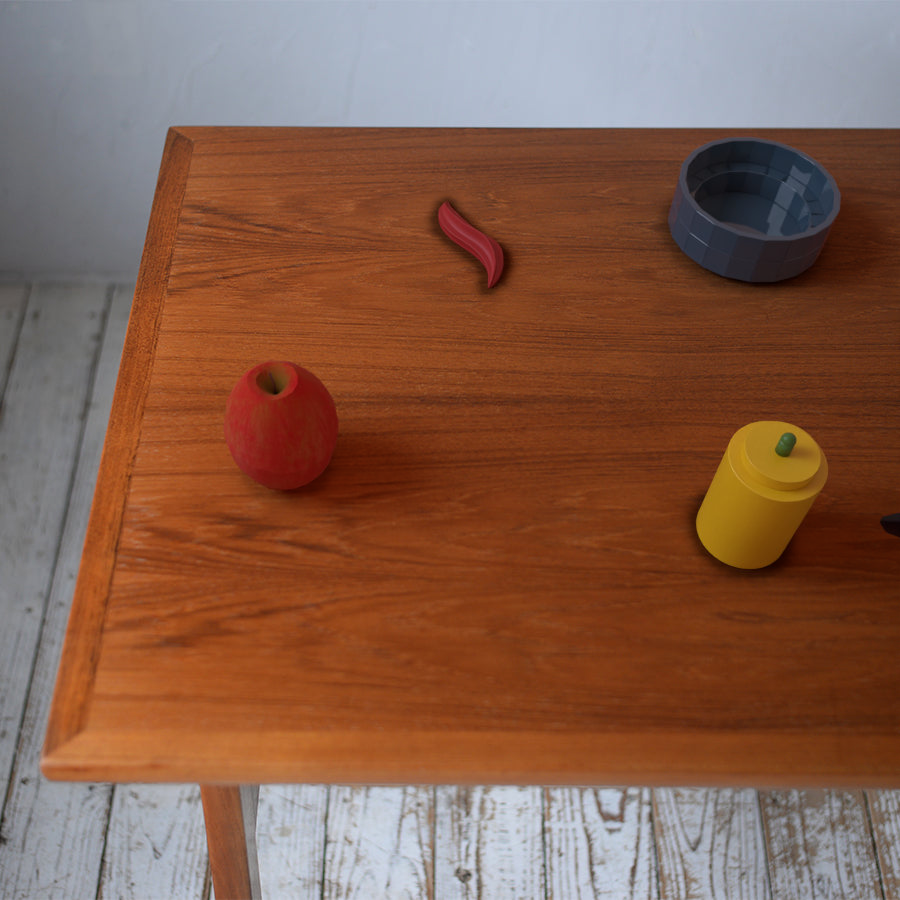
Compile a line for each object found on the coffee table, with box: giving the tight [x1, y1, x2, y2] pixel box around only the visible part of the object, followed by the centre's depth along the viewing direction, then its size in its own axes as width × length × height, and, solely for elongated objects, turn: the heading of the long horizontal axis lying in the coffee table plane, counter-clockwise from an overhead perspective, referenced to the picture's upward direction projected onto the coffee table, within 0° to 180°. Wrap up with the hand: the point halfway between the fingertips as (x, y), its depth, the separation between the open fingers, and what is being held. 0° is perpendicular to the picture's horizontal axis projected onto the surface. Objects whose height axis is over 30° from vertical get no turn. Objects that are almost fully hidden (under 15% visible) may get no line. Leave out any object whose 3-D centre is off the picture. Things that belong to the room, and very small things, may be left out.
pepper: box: [695, 420, 829, 570], centre depth 67 cm, size 7×7×12 cm
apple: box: [222, 359, 340, 491], centre depth 69 cm, size 8×8×11 cm
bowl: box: [667, 136, 842, 283], centre depth 88 cm, size 14×14×6 cm
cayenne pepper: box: [437, 200, 504, 289], centre depth 88 cm, size 12×5×2 cm, turn 13°
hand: (899, 469), depth 60 cm, fingers open, 9 cm apart
